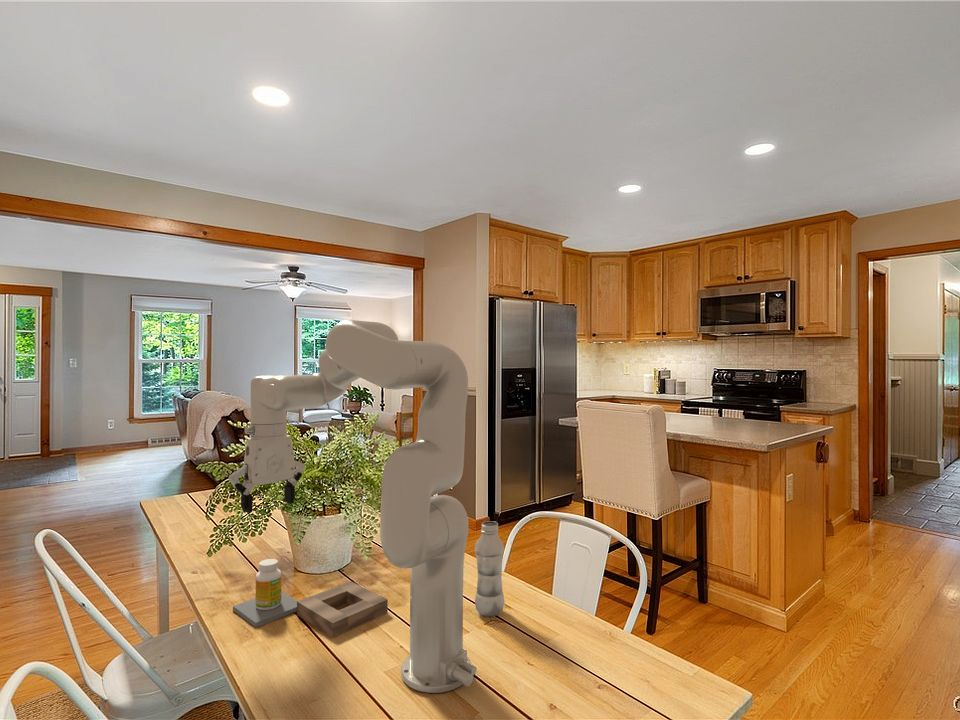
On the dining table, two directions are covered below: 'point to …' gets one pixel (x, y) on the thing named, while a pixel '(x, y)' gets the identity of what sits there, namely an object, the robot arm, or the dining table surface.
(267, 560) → the supplement bottle
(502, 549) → the plastic bottle
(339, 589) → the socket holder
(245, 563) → the dining table surface
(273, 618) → the grey pad
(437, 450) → the robot arm
